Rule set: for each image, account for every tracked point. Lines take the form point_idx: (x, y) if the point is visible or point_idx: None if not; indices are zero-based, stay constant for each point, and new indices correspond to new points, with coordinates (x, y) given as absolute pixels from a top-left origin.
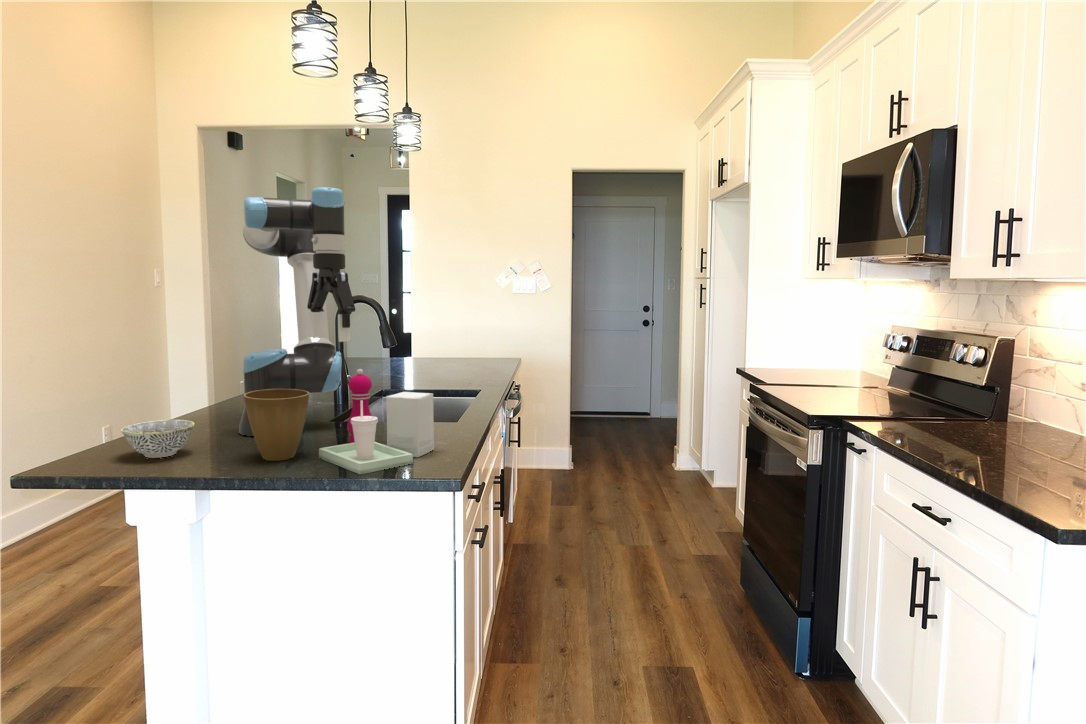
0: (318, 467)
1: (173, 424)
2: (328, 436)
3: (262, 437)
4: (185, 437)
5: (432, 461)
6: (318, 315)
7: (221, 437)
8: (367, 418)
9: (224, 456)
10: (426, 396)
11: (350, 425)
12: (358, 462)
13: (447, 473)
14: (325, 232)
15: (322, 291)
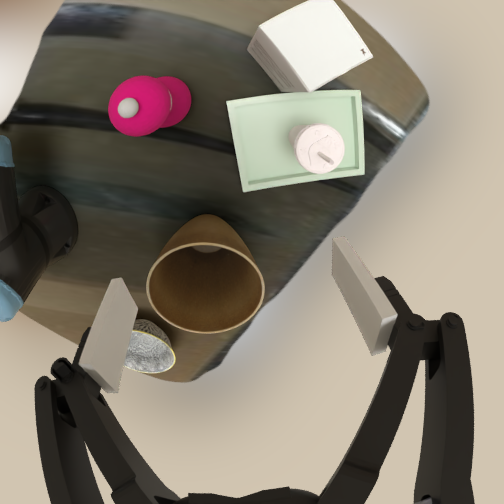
0: (294, 201)
1: None
2: (98, 143)
3: (230, 274)
4: (155, 329)
5: None
6: (107, 366)
7: (69, 273)
8: (329, 146)
9: None
10: (348, 20)
11: (172, 124)
12: (357, 172)
13: (411, 86)
14: None
15: (165, 491)
